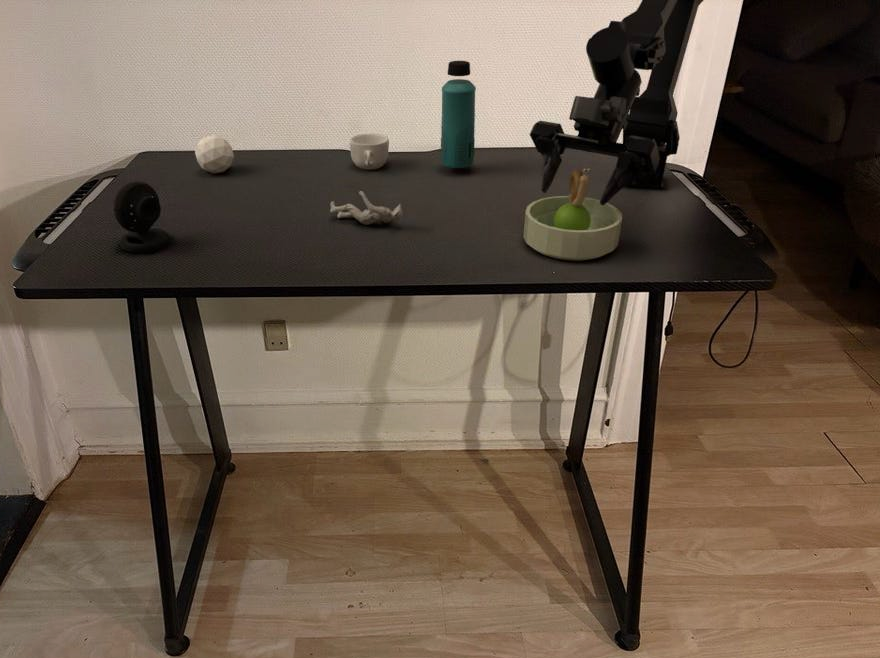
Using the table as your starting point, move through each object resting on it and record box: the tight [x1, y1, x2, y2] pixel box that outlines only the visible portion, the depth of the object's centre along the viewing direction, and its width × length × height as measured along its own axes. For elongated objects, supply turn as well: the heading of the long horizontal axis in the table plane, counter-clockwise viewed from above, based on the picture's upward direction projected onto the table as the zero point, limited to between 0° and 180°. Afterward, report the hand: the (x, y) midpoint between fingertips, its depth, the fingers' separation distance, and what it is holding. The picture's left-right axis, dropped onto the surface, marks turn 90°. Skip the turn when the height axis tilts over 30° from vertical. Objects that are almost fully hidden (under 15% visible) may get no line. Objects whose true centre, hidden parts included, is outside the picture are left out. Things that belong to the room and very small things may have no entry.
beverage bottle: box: [440, 60, 477, 169], centre depth 136 cm, size 6×7×20 cm
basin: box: [523, 195, 623, 261], centre depth 111 cm, size 14×14×5 cm
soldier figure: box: [330, 190, 403, 226], centre depth 119 cm, size 8×5×12 cm
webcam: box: [113, 180, 170, 254], centre depth 111 cm, size 8×8×10 cm
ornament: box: [194, 132, 235, 175], centre depth 141 cm, size 7×7×8 cm
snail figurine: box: [554, 167, 592, 231], centre depth 108 cm, size 5×6×12 cm
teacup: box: [349, 132, 390, 171], centre depth 142 cm, size 10×8×5 cm
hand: (571, 197), depth 107 cm, fingers open, 9 cm apart
